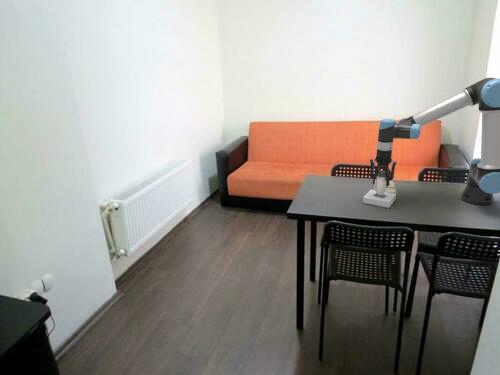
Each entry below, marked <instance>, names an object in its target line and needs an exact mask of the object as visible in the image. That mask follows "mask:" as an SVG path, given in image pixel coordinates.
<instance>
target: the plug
mask: <svg viewBox="0 0 500 375" xmlns="http://www.w3.org/2000/svg"><path fill="white" fill-rule="evenodd" d="M376 178H377V183H376V194H379V195H383V194H384V184H385V180H386V173H385V170H379V171H378V172H377V177H376Z"/></svg>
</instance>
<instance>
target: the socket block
mask: <svg viewBox="0 0 500 375" xmlns="http://www.w3.org/2000/svg"><path fill="white" fill-rule="evenodd" d="M396 198H397V194H395V193H389V192H384V194H383V195H379V194H376V191H374V189H370V190H369V191H368V192H367V193H366V194H365V195H363V197H362V204H363V205H364V204H365V205H369V206H372V207H373V206H374V207H380V208H385V209H390V208H391V207H392V206H393V204H394V203H395V201H396V200H397V199H396Z"/></svg>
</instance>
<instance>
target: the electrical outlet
mask: <svg viewBox="0 0 500 375" xmlns="http://www.w3.org/2000/svg"><path fill="white" fill-rule="evenodd" d="M386 192H389V193H395V194H396V195H397V190H396V186H395V184H394V181H393V180H390V181H389V186H387V190H386Z"/></svg>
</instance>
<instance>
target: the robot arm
mask: <svg viewBox="0 0 500 375" xmlns="http://www.w3.org/2000/svg"><path fill="white" fill-rule="evenodd" d="M476 105H478V111H479V113H481V114H482V115H481V116H482V117H481V138H480V139H481V141H480V142H481V144H480V158H479V157H478V158H473V159H472V160H471V161H470V164H469V165H470V166H469V171H468V176H467V181H466V186H465V187H464V188H463V190H462V191H461V194H460V199H461V200H462V201H463V202H465V203H468V204H471V205H476V206H490V205H492V204H493V203H494V199H495V197H494V194H499V193H500V78H496V77H485V78H483V79H481V80H479V81H476V82H474V83H472V84H471V85H469V86H466V87H464V88H463V89H462V92H459V93H457V94H455V95H453V96H450V97H448V98H447V99H444V100H442V101H440V102H438V103H436V104H434V105H431V106H429V107H428V108H425V109H423V110H421V111H419V112H417V113H415V114H413V115H411V116H409V117H405V118H404V117H403V118H401V119H400V120H399V121H398V122H397V123H396V120H395V119H394V118H383V119H381V120H380V121H379V127H378V134H377V137H378V138H377V146H376V148H377V149H376V157H374V158H371V159H370V160H369V162H370V169H369V170H370V172H369V177H370V178H372V180H373V181H372V185H374V186H373V190H374V191H376V183H377V172H378V171H380V169H381V167H383V168H384V171H385V173H386V180H385V184H384V192H386V190H387V186H389V181H393V180H394V178H395V170H396V165H398V164H397V161H394V160H393V159H392V157H393V150H392V149H393V147H394V139H404V140H418V139H419V138H420V136H421V129H422V127H424V126H426V125H428V124H431V123H433V122H435V121H437V120H440V119H441V118H445V117H447V116H448V115H451V114H453V113H455V112H458V111H460V110H461V109H464V108H466V107H469V106H470V107H474V106H476ZM375 163H376V164H377V166H376V169H375ZM390 164H391V169H390V170H389V167H390V166H389V165H390Z"/></svg>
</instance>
